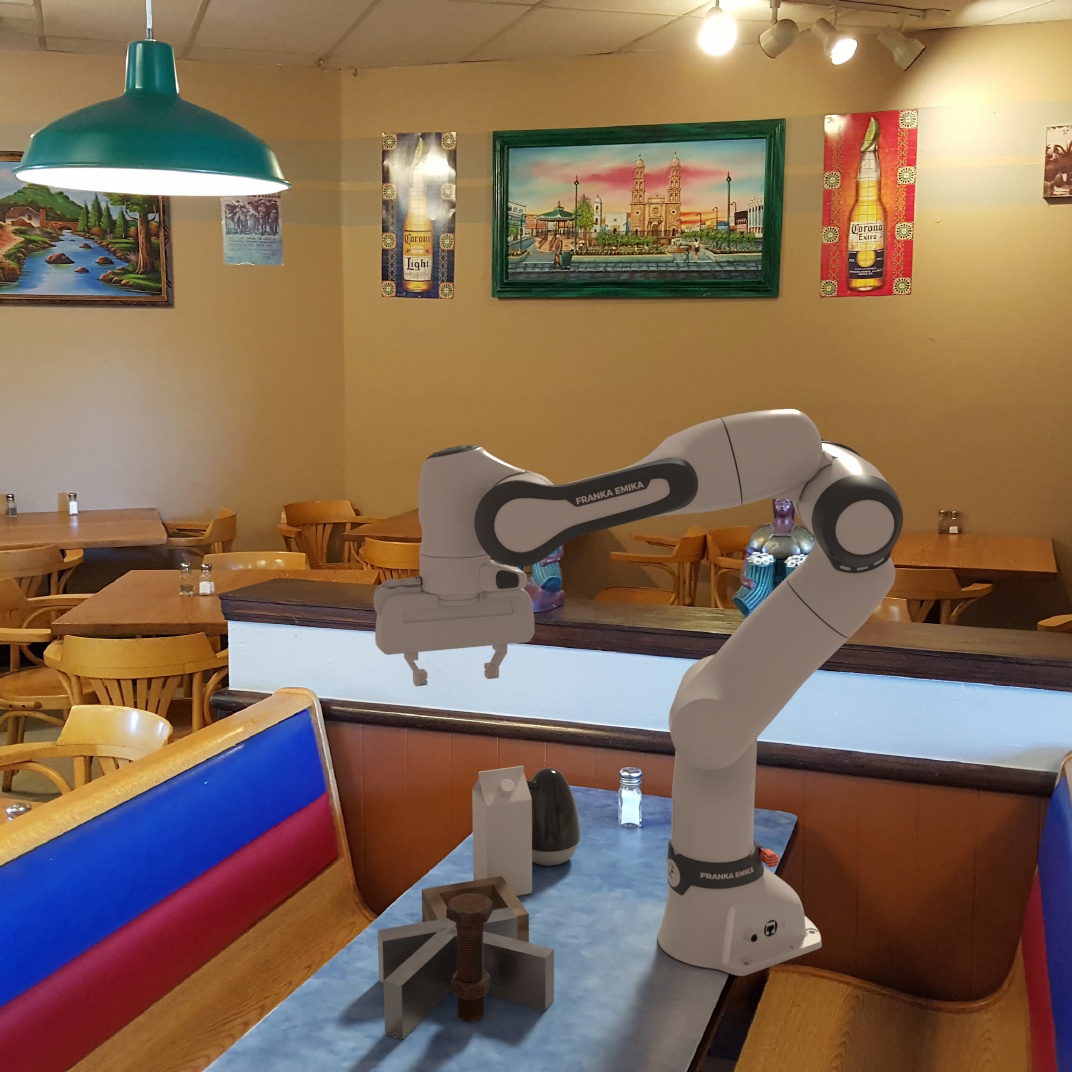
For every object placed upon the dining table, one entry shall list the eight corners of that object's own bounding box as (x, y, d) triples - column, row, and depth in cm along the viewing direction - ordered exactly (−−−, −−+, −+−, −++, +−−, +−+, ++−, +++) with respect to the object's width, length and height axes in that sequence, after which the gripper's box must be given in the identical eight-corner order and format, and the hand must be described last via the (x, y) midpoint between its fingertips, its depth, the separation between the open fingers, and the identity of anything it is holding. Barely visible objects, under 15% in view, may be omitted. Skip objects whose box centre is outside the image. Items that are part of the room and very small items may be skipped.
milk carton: (473, 881, 174) (471, 764, 171) (516, 874, 177) (515, 758, 174) (487, 902, 168) (486, 780, 164) (532, 894, 170) (531, 774, 167)
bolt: (484, 1033, 135) (483, 916, 133) (444, 1028, 136) (442, 912, 134) (496, 1006, 141) (495, 893, 138) (458, 1001, 142) (456, 889, 140)
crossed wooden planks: (522, 953, 153) (522, 904, 152) (558, 1007, 140) (559, 955, 139) (365, 982, 146) (363, 932, 145) (388, 1043, 133) (386, 988, 132)
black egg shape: (503, 855, 183) (503, 765, 181) (556, 840, 189) (556, 753, 186) (538, 879, 175) (538, 785, 172) (592, 862, 180) (593, 772, 178)
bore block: (502, 907, 166) (501, 875, 165) (528, 947, 155) (528, 913, 154) (422, 921, 162) (421, 889, 161) (444, 963, 151) (443, 928, 150)
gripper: (378, 585, 136) (381, 696, 138) (538, 574, 142) (538, 680, 144) (368, 575, 141) (370, 682, 144) (522, 565, 148) (522, 667, 150)
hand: (456, 681), depth 144 cm, fingers open, 8 cm apart
